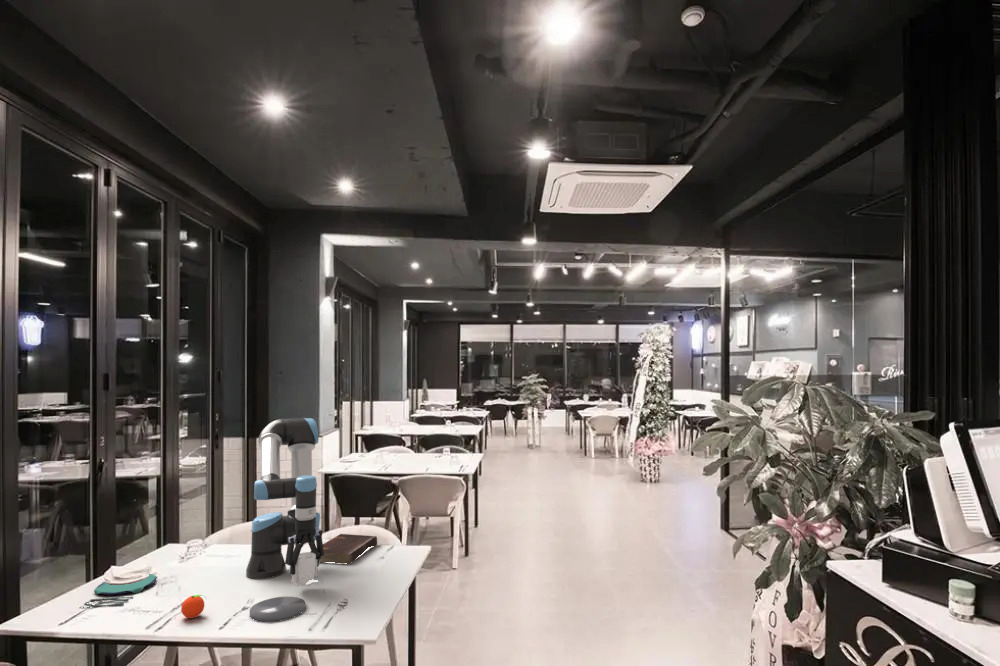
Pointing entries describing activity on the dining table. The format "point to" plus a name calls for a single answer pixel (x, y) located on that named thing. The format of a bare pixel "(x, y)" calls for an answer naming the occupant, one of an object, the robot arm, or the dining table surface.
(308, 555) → the white cup
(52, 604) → the dining table surface
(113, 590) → the cutlery set
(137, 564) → the dining table surface
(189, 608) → the clementine
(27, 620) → the dining table surface
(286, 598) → the slate plate
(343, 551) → the hardback book
